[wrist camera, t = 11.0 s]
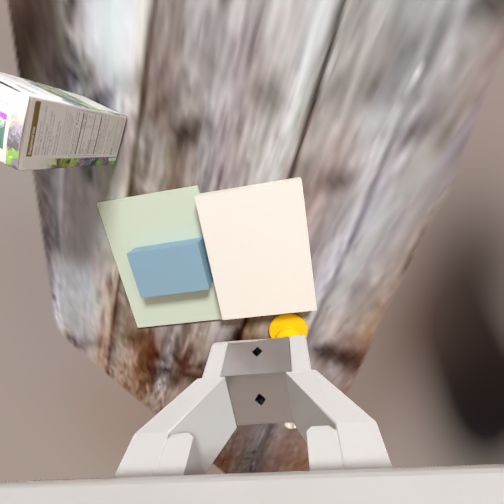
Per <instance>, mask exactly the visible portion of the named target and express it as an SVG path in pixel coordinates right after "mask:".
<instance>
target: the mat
mask: <svg viewBox="0 0 504 504" xmlns="http://www.w3.org/2000/svg"><path fill="white" fill-rule="evenodd" d="M198 194H200V192H199V188H198V185H197V186H191V187H185V188H179V189H173V190H167V191H161V192H155V193H150V194H144V195H138V196H132V197H126V198H120V199H114V200H108V201H102V202H97V203H96V204H97V207H98V210H99V213H100V216H101V219H102V222H103V225H104V228H105V231H106V234H107V237H108V240H109V243H110V246H111V249H112V252H113V255H114V258H115V261H116V264H117V267H118V270H119V273H120V276H121V279H122V282H123V285H124V288H125V291H126V294H127V297H128V300H129V303H130V306H131V309H132V312H133V315H134V318H135V321H136V324H137V327H138V328H141V327H150V326H160V325H169V324H179V323H189V322H198V321H208V320H217V319H222V315H221V311H220V306H219V302H218V298H217V293H216V289H215V285H214V280H213V282H212V284H211V286H210V288H209V289H208V290H200V291H192V292H184V293H176V294H169V295H161V296H153V297H145V298H141V297H140V294H139V291H138V288H137V285H136V282H135V279H134V276H133V273H132V270H131V266H130V263H129V260H128V257H127V253H128V252H130V251H131V250H133V249H134V248H136V247H142V246H148V245H155V244H161V243H168V242H174V241H181V240H187V239H194V238H200V237H203V233H202V228H201V224H200V220H199V215H198V211H197V207H196V202H195V198H194V197H195V196H197V195H198ZM203 240H204V237H203ZM204 244H205V241H204ZM205 249H206V246H205ZM206 253H207V250H206ZM207 257H208V254H207ZM208 261H209V259H208ZM209 265H210V263H209ZM210 269H211V267H210ZM211 273H212V272H211ZM212 278H213V276H212Z"/></svg>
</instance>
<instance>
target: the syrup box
mask: <svg viewBox="0 0 504 504" xmlns="http://www.w3.org/2000/svg"><path fill="white" fill-rule="evenodd" d="M126 119H127V117H126V116H124V115H122V114H120V113H118V112H116V111H114V110H112V109H109V108H107V107H105V106H103V105H101V104H99V103H97V102H95V101H92V100H90V99H88V98H86V97H84V96H82V95H80V94H76V93H73V92H69V91H66V90H62V89H59V88H55V87H52V86H48V85H45V84H41V83H38V82H35V81H31V80H28V79H24V78H21V77H17V76H13V75H10V74H6V73H3V72H0V162H2V163H4V164H6V165H8V166H11V167H13V168H15V169H17V170H19V171H23V170H38V169H51V168H66V167H79V166H93V165H106V164H115V161H116V158H117V154H118V150H119V146H120V143H121V139H122V135H123V131H124V127H125V123H126Z"/></svg>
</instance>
